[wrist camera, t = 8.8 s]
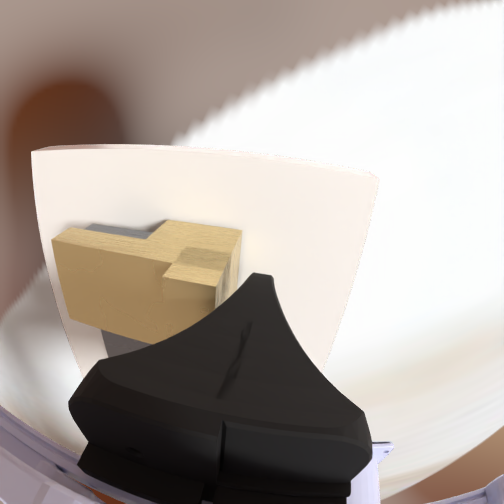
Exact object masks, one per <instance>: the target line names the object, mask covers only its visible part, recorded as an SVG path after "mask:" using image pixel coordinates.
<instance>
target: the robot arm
mask: <svg viewBox="0 0 504 504" xmlns="http://www.w3.org/2000/svg"><path fill="white" fill-rule="evenodd" d="M68 405H69V411H70V413H71V415H72V417H73V419H74V421H75V422H76V424H77V426H78V427H79V429H80V430H81V432H82V433H83V435H84V436H85V438H86V439H87V440H88V444H87V446H86V448H85V450H84V452H83V454H82V455H81V456H80V455H78V454H76V453H74V452H72V451H70V450H69V449H67V448H65V447H63V446H61V445H60V444H58V443H56V442H54V441H53V440H51V439H49V438H48V437H46V436H44V435H43V434H41V433H39V432H38V431H36V430H35V429H33V428H32V427H30V426H29V425H27V424H26V423H24V422H23V421H21V420H20V419H18V418H17V417H16V416H14V415H13V414H11V413H10V412H9V411H7V410H6V409H5V408H3V407H2V406H1V405H0V500H1V501H2V502H3V503H4V504H106V503H104V502H103V501H102V500H100V499H99V498H98V497H96V496H95V495H94V493H93V492H92V491H91V490H90V489H88V488H87V487H85V486H83V485H81V484H80V483H78V482H77V481H79V482H81V483H83V484H85V485H87V486H89V487H91V488H93V489H95V490H97V491H99V492H101V493H103V494H106V495H108V496H110V497H112V498H115V499H117V500H119V501H122V502H124V503H127V504H380V489H379V476H378V464H379V463H380V462H381V461H382V460H383V459H384V458H385V457H386V456H387V455H388V454H389V453H390V452H391V451H392V450H393V449H394V444H392V443H386V444H372V440H371V435H370V431H369V427H368V424H367V420H366V417H365V414H364V412H363V411H362V410H361V409H360V408H359V407H357V406H356V405H355V404H354V403H353V402H351V401H350V400H349V399H348V398H347V397H345V396H344V395H343V394H342V393H341V392H339V391H338V390H337V389H336V388H335V387H334V386H333V385H332V384H331V383H330V382H329V381H328V380H327V379H326V378H325V376H324V375H323V374H322V373H321V372H320V371H319V369H318V368H317V367H316V366H315V365H314V363H313V362H312V361H311V360H310V358H309V357H308V355H307V354H306V353H305V351H304V350H303V348H302V347H301V345H300V344H299V342H298V340H297V339H296V337H295V335H294V334H293V332H292V330H291V328H290V326H289V324H288V322H287V320H286V318H285V315H284V313H283V311H282V308H281V305H280V303H279V300H278V297H277V293H276V290H275V285H274V278H273V277H272V275H267V274H261V273H255V272H253V273H252V274H250V276H249V277H248V278H247V279H246V281H245V282H244V283H243V284H242V285H241V286H240V287H239V288H238V289H237V290H236V291H235V292H234V293H233V294H232V295H231V296H230V297H229V298H228V299H227V300H226V301H224V302H223V303H222V304H221V305H220V306H218V307H217V308H216V309H215V310H213V311H212V312H211V313H210V314H208V315H207V316H205V317H204V318H203V319H201V320H200V321H198V322H197V323H195V324H193V325H192V326H190V327H188V328H187V329H185V330H183V331H181V332H179V333H177V334H175V335H173V336H171V337H169V338H167V339H165V340H163V341H160V342H158V343H155V344H153V345H150V346H147V347H144V348H142V349H139V350H136V351H132V352H129V353H125V354H121V355H117V356H113V357H109V358H105V359H100V360H98V361H97V363H96V364H95V365H94V366H93V367H92V368H91V369H90V371H89V372H88V373H87V375H86V376H85V377H84V379H83V380H82V382H81V383H80V385H79V386H78V388H77V389H76V391H75V392H74V394H73V395H72V397H71V398H70V400H69V401H68ZM67 475H68V476H67ZM69 476H70V477H72V478H73V479H72V478H70V477H69ZM74 479H75V480H77V481H75V480H74ZM427 504H504V474H503V475H501V476H499V477H497V478H496V479H495V480H493V481H492V482H490V483H489V484H488V485H487V486H486V487H484V488H481V489H478V490H475V491H472V492H469V493H466V494H462V495H459V496H456V497H452V498H448V499H444V500H440V501H436V502H431V503H427Z"/></svg>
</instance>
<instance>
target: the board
mask: <svg viewBox="0 0 504 504" xmlns="http://www.w3.org/2000/svg"><path fill="white" fill-rule="evenodd" d="M31 156H32V173H33V185H34V194H35V203H36V211H37V218H38V224H39V230H40V236H41V241H42V246H43V251H44V256H45V261H46V265H47V270H48V274H49V278H50V282H51V286H52V290H53V293H54V297H55V300H56V304H57V307H58V310H59V314H60V317H61V320H62V323H63V326H64V329H65V332H66V335H67V338H68V341H69V343H70V346H71V349H72V351H73V354H74V357H75V359H76V362H77V364H78V367H79V369H80V371H81V374H82V376H83V378H84V377H85V376H86V375H87V373H88V372H89V371H90V369H91V368H92V367H93V366H94V365H95V364H96V363H97V361H98V360H100V359H105V358H108V355H107V351H106V348H105V344H104V341H103V337H102V333H101V329H99V328H96V327H93V326H90V325H87V324H84V323H81V322H78V321H75V320H73V319H70V318H69V314H68V311H67V307H66V304H65V300H64V297H63V293H62V289H61V285H60V281H59V277H58V272H57V268H56V263H55V258H54V253H53V248H52V243H51V239H52V238H54V237H56V236H57V235H59V234H60V233H62V232H63V231H65V230H67V229H68V228H70V227H72V228H78V229H85V228H87V227H88V226H90V225H91V224H99V225H106V226H112V227H119V228H126V229H132V230H139V231H146V232H152V233H153V232H154V231H156V230H157V229H158V228H159V227H160V226H161V225H162V224H164V223H165V222H166V221H167V220H174V221H181V222H189V223H196V224H203V225H210V226H217V227H224V228H231V229H238V230H242V241H241V251H240V262H239V273H238V284H237V289H238V288H239V287H240V286H241V285H242V284H243V283H244V282H245V281H246V279H247V278H248V277H249V276H250V274H252V273H253V272H255V273H261V274H267V275H272V277H273V278H274V285H275V290H276V293H277V297H278V300H279V303H280V305H281V308H282V311H283V313H284V315H285V318H286V320H287V322H288V324H289V326H290V328H291V330H292V332H293V334H294V335H295V337H296V339H297V340H298V342H299V344H300V345H301V347H302V348H303V350H304V351H305V353H306V354H307V355H308V357H309V358H310V360H311V361H312V362H313V363H314V365H315V366H316V367H317V368H318V369H319V371H320V372H321V373H322V372H323V369H324V367H325V364H326V361H327V359H328V356H329V354H330V351H331V348H332V345H333V343H334V340H335V337H336V334H337V331H338V329H339V326H340V323H341V320H342V317H343V314H344V311H345V308H346V305H347V302H348V299H349V295H350V292H351V289H352V286H353V283H354V279H355V276H356V272H357V269H358V266H359V262H360V258H361V255H362V251H363V247H364V244H365V240H366V236H367V232H368V228H369V224H370V220H371V216H372V212H373V207H374V203H375V199H376V194H377V189H378V185H379V180H380V179H379V178H377V177H376V176H375V175H374V174H372V173H371V172H368V171H364V170H359V169H354V168H349V167H344V166H338V165H333V164H327V163H322V162H316V161H310V160H304V159H297V158H291V157H284V156H276V155H269V154H261V153H253V152H244V151H234V150H224V149H212V148H200V147H185V146H166V145H130V144H129V145H128V144H105V145H104V144H101V145H100V144H99V145H66V146H50V147H46V148H42V149H38V150H35V151H32V152H31Z"/></svg>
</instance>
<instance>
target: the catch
mask: <svg viewBox="0 0 504 504" xmlns="http://www.w3.org/2000/svg"><path fill="white" fill-rule="evenodd" d="M241 241H242V230H238V229H231V228H224V227H217V226H210V225H203V224H196V223H189V222H181V221H174V220H167V221H166V222H165V223H164V224H162V225H161V226H160V227H159V228H158V229H157V230H156V231H154V232H153V233H152V234H151V235H150V236H149V237H148V238H147V239H140V238H133V237H127V236H121V235H115V234H109V233H102V232H96V231H90V230H84V229H78V228H72V227H70V228H68V229H67V230H65V231H63V232H62V233H60V234H59V235H57V236H56V237H54V238H52V239H51V243H52V248H53V253H54V258H55V263H56V268H57V272H58V277H59V281H60V285H61V289H62V293H63V297H64V300H65V304H66V307H67V311H68V314H69V318H70V319H73V320H75V321H78V322H81V323H84V324H87V325H90V326H93V327H96V328H99V329H102V330H105V331H108V332H111V333H115V334H118V335H121V336H125V337H128V338H131V339H135V340H138V341H142V342H146V343H149V344H155V343H158V342H160V341H163V340H165V339H167V338H169V337H171V336H173V335H175V334H177V333H179V332H181V331H183V330H185V329H187V328H188V327H190V326H192V325H193V324H195V323H197V322H198V321H200V320H201V319H203V318H204V317H205V316H207V315H208V314H210V313H211V312H212V311H213V310H215V309H216V308H217V307H218V306H220V305H221V304H222V303H223V302H224V301H226V300H227V299H228V298H229V297H230V296H231V295H232V294H233V293H234V292H235V291H236V290H237V284H238V273H239V262H240V251H241Z"/></svg>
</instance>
